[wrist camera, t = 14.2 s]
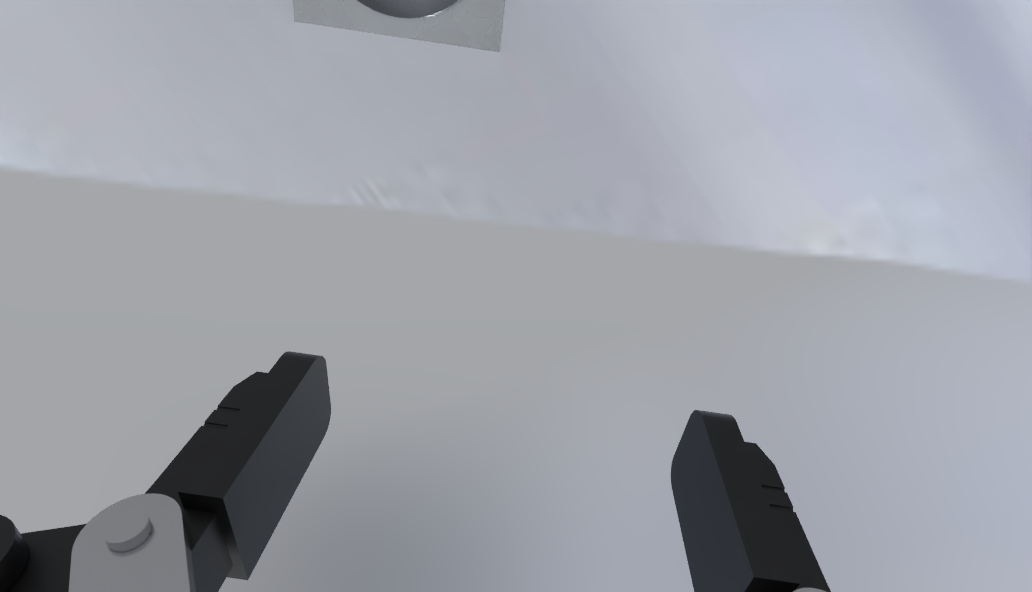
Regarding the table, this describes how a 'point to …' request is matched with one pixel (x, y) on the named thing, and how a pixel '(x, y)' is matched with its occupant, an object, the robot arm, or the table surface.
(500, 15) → the flange
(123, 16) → the table surface
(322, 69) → the table surface
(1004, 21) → the table surface
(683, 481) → the robot arm
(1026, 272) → the table surface
